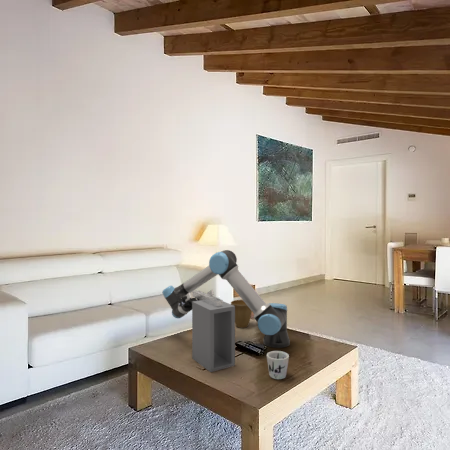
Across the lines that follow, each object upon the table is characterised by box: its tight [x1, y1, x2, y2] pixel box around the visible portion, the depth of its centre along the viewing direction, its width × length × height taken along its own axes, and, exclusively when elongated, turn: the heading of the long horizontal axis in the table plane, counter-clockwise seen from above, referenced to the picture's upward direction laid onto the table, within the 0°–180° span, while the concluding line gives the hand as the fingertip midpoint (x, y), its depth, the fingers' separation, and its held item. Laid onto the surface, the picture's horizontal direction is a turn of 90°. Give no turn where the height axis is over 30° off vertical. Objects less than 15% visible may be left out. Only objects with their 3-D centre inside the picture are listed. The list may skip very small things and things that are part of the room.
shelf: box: [191, 300, 236, 373], centre depth 192 cm, size 19×14×30 cm
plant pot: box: [230, 299, 253, 329], centre depth 249 cm, size 15×15×16 cm
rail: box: [192, 289, 224, 307], centre depth 196 cm, size 26×4×3 cm, turn 32°
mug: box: [266, 350, 290, 380], centre depth 179 cm, size 10×15×10 cm
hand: (201, 293), depth 201 cm, fingers open, 13 cm apart
